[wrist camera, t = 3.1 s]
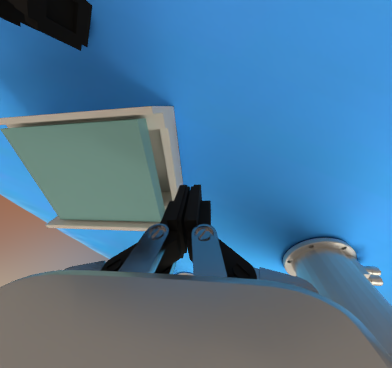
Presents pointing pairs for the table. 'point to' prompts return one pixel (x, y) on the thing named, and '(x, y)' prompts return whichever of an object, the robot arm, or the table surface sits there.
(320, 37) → the table surface
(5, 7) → the toy gun
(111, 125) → the lid
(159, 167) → the box
